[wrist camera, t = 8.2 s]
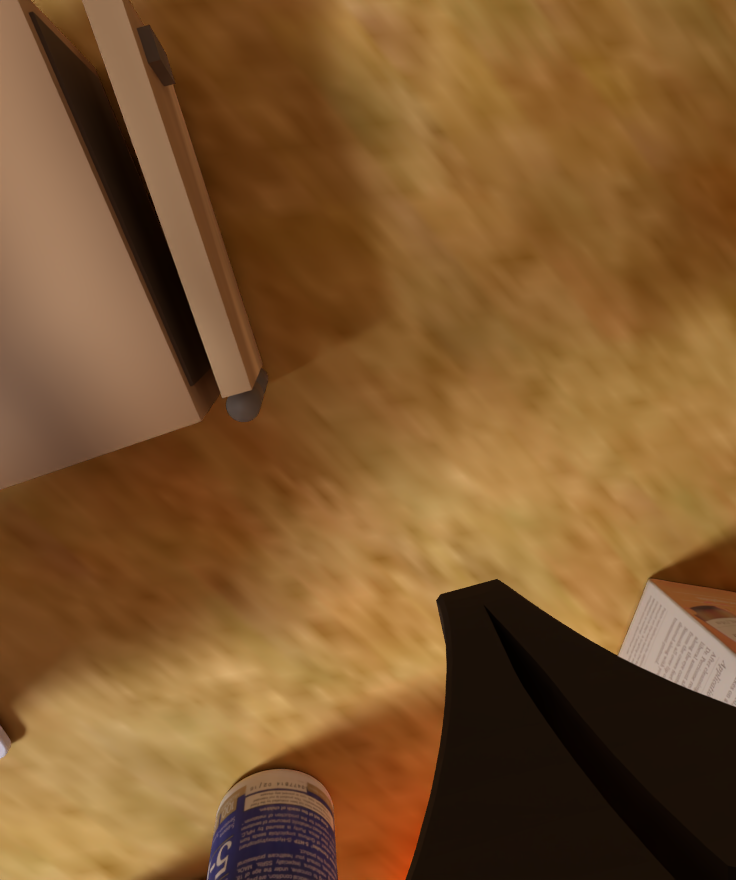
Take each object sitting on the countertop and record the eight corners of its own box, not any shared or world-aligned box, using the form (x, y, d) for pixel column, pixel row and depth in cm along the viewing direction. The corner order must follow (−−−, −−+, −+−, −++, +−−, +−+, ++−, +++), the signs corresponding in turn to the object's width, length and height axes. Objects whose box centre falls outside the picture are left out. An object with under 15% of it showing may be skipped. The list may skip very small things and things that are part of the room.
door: (246, 394, 19) (231, 428, 14) (136, 67, 16) (73, -16, 11) (278, 385, 19) (272, 416, 14) (175, 58, 16) (128, -28, 11)
